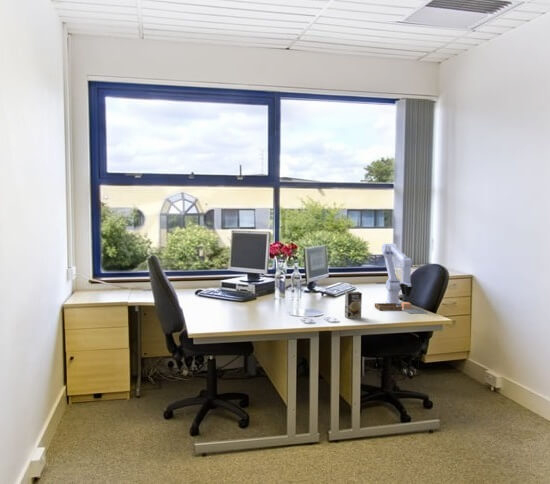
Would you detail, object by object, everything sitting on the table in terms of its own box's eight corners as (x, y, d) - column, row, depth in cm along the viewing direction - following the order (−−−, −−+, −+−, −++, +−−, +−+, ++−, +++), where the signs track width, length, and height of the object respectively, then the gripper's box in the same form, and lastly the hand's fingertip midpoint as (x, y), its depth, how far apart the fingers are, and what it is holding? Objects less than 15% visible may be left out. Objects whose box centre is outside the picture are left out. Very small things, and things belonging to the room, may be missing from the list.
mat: (403, 309, 333) (403, 309, 333) (420, 309, 334) (420, 308, 334) (409, 313, 321) (409, 312, 321) (427, 313, 322) (427, 312, 322)
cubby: (374, 306, 341) (374, 303, 341) (396, 306, 343) (396, 303, 343) (379, 310, 330) (379, 307, 329) (402, 310, 331) (402, 306, 331)
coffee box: (347, 318, 306) (348, 293, 304) (344, 316, 312) (344, 291, 311) (361, 318, 307) (362, 293, 306) (357, 315, 314) (358, 291, 312)
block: (401, 307, 339) (401, 302, 339) (408, 307, 340) (408, 302, 340) (403, 309, 334) (403, 303, 334) (410, 309, 335) (410, 303, 335)
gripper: (396, 274, 342) (396, 293, 343) (404, 277, 328) (403, 297, 329) (406, 274, 343) (406, 293, 344) (414, 277, 329) (413, 297, 330)
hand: (405, 295), depth 337 cm, fingers open, 7 cm apart
